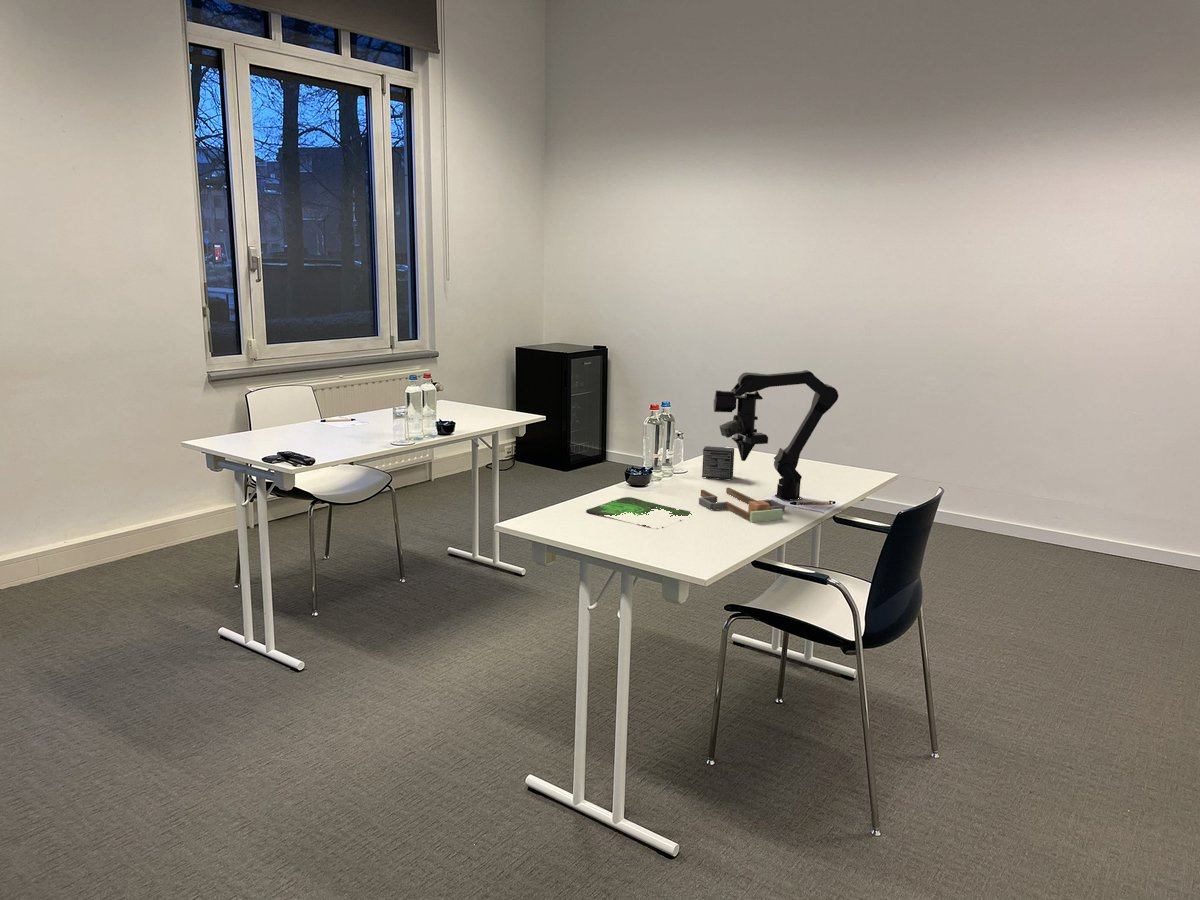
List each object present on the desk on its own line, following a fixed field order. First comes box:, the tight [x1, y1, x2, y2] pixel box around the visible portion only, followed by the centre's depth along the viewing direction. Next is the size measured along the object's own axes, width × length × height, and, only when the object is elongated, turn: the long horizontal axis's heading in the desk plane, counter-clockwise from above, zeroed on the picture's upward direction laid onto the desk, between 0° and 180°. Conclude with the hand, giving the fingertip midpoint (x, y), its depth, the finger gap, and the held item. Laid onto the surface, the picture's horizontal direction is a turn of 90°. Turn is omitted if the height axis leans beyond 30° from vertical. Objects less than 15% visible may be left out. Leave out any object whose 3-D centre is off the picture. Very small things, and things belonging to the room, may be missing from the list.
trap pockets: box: [698, 496, 786, 514], centre depth 274 cm, size 21×17×2 cm
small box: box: [701, 445, 735, 481], centre depth 312 cm, size 11×6×10 cm, turn 76°
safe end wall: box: [749, 509, 784, 523], centre depth 261 cm, size 10×1×3 cm, turn 112°
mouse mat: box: [585, 496, 692, 527], centre depth 266 cm, size 27×22×1 cm
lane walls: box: [700, 487, 773, 522], centre depth 275 cm, size 10×30×2 cm, turn 22°
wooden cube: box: [747, 499, 770, 513], centre depth 264 cm, size 4×4×4 cm
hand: (743, 460), depth 284 cm, fingers closed
